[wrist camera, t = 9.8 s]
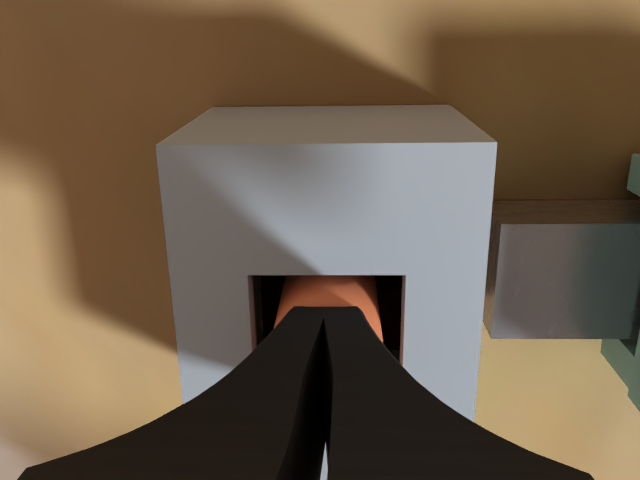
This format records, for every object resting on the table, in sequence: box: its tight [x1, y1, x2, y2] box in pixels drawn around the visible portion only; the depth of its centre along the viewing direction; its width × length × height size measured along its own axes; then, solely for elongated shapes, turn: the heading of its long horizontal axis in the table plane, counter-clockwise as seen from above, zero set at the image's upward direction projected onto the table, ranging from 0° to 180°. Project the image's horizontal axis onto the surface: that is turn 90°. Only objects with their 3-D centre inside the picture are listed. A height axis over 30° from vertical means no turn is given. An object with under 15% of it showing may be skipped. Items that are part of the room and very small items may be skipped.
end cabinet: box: [155, 105, 498, 480], centre depth 14 cm, size 8×6×5 cm
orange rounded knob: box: [274, 275, 383, 343], centre depth 14 cm, size 2×2×4 cm
